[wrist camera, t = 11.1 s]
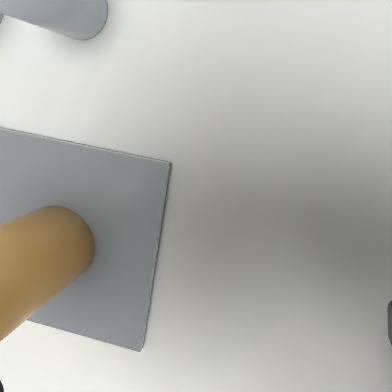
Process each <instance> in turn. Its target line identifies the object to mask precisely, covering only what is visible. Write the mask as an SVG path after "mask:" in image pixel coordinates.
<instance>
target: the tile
mask: <svg viewBox="0 0 392 392" xmlns="http://www.w3.org/2000/svg"><path fill="white" fill-rule="evenodd" d="M170 165H171V162H167V161H162V160H157V159H152V158H147V157H142V156H137V155H132V154H127V153H122V152H118V151H113V150H108V149H103V148H98V147H93V146H88V145H83V144H78V143H73V142H68V141H63V140H59V139H54V138H49V137H44V136H39V135H34V134H29V133H24V132H19V131H14V130H9V129H4V128H0V225H1V224H4V223H6V222H8V221H11V220H13V219H16V218H18V217H21V216H23V215H26V214H28V213H31V212H33V211H35V210H38V209H40V208H43V207H46V206H62V207H65V208H68V209H70V210H72V211H74V212H75V213H76V214H78V215H79V216H80V217H81V218H82V219H83V220H84V221H85V223H86V224H87V225H88V227H89V229H90V231H91V233H92V236H93V240H94V255H93V259H92V261H91V263H90V265H89V267H88V268H87V269H86V270H85V271H84V272H83V273H82V274H80V275H79V276H78V277H77V278H76V279H75V280H73V281H72V282H71V283H70V284H69V285H67V286H66V287H65V288H64V289H63V290H61V291H60V292H59V293H58V294H57V295H55V296H54V297H53V298H52V299H51V300H49V301H48V302H47V303H46V304H45V305H43V306H42V307H41V308H40V309H39V310H37V311H36V312H35V313H34V314H33V315H31V316H30V317H29V318H28V319H27V320H29V321H32V322H36V323H39V324H43V325H46V326H50V327H54V328H57V329H61V330H64V331H68V332H71V333H75V334H78V335H82V336H85V337H89V338H92V339H96V340H99V341H103V342H107V343H110V344H114V345H117V346H121V347H124V348H128V349H131V350H135V351H138V352H140V351H141V349H142V347H143V344H144V337H145V331H146V324H147V317H148V311H149V304H150V298H151V291H152V284H153V278H154V271H155V264H156V258H157V251H158V245H159V238H160V231H161V225H162V218H163V211H164V205H165V198H166V192H167V185H168V178H169V172H170Z"/></svg>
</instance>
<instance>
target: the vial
mask: <svg viewBox="0 0 392 392" xmlns="http://www.w3.org/2000/svg"><path fill="white" fill-rule="evenodd" d="M93 255H94V240H93V236H92V233H91V231H90V229H89V227H88V225H87V224H86V223H85V221H84V220H83V219H82V218H81V217H80V216H79V215H78V214H76V213H75V212H74V211H72V210H70V209H68V208H65V207H62V206H46V207H43V208H40V209H38V210H35V211H33V212H31V213H28V214H26V215H23V216H21V217H18V218H16V219H13V220H11V221H8V222H6V223H4V224H1V225H0V341H1V340H3V339H4V338H5V337H6V336H7V335H9V334H10V333H11V332H12V331H13V330H15V329H16V328H17V327H18V326H19V325H21V324H22V323H23V322H24V321H25V320H27V319H28V318H29V317H30V316H31V315H33V314H34V313H35V312H36V311H37V310H39V309H40V308H41V307H42V306H43V305H45V304H46V303H47V302H48V301H49V300H51V299H52V298H53V297H54V296H55V295H57V294H58V293H59V292H60V291H61V290H63V289H64V288H65V287H66V286H67V285H69V284H70V283H71V282H72V281H73V280H75V279H76V278H77V277H78V276H79V275H80V274H82V273H83V272H84V271H85V270H86V269H87V268H88V267H89V265H90V263H91V261H92V259H93Z"/></svg>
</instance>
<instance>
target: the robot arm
mask: <svg viewBox="0 0 392 392" xmlns="http://www.w3.org/2000/svg"><path fill="white" fill-rule="evenodd" d="M388 335H389V339H390V342H391V345H392V301H391V302H390V303H389V304H388ZM0 392H4V388H3V385H2V383H1V381H0Z"/></svg>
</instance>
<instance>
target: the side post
mask: <svg viewBox="0 0 392 392" xmlns="http://www.w3.org/2000/svg"><path fill="white" fill-rule="evenodd" d="M0 13H2V14H5V15H8V16H11V17H13V18H16V19H19V20H22V21H25V22H28V23H31V24H34V25H37V26H40V27H42V28H45V29H48V30H51V31H54V32H57V33H60V34H63V35H66V36H69V37H72V38H74V39H78V40H86V39H90V38H92V37H94V36H96V35H97V34H98V33H99V32H100V31H101V30H102V28H103V26H104V25H105V22H106V19H107V14H108V6H107V0H0Z"/></svg>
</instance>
